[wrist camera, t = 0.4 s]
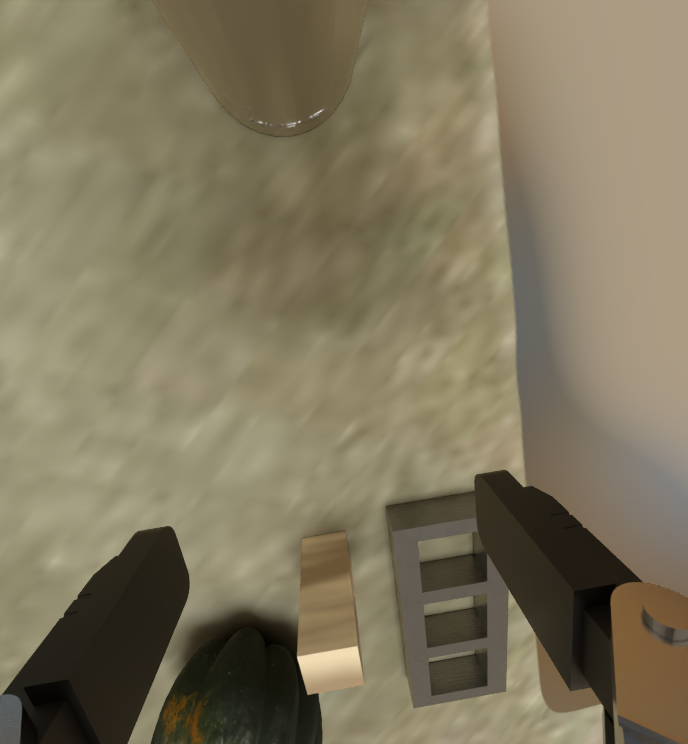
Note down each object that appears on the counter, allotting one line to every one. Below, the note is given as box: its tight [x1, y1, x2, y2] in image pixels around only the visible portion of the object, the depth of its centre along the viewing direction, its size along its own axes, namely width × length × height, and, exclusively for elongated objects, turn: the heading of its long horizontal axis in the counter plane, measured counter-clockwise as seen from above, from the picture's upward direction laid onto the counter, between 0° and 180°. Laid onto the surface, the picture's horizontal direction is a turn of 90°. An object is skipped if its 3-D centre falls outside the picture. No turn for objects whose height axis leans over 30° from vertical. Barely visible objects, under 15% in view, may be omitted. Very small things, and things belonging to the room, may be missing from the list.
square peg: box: [297, 531, 365, 695], centre depth 28 cm, size 4×4×10 cm
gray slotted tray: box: [386, 492, 509, 708], centre depth 34 cm, size 24×10×3 cm, turn 8°
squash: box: [151, 627, 322, 744], centre depth 31 cm, size 14×15×15 cm
